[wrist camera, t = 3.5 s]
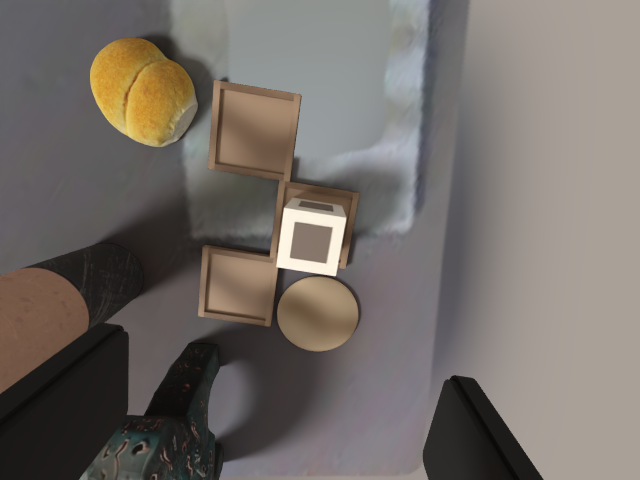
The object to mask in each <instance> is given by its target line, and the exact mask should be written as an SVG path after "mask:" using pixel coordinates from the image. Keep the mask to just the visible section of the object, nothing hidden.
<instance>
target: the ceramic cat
mask: <svg viewBox="0 0 640 480" xmlns="http://www.w3.org/2000/svg"><path fill="white" fill-rule="evenodd" d="M219 369H220V364H219V361H218V345H214V344H192V343H189V344H188V345H187V347H186V348H185V349H184V351H183V352H182V354H181V355H180V356H179V357H178V359H177V360H176V361H175V362H174V363H173V364H172V365H171V366H170V368H169V370H168V372H167V374H166V376H165V378H164V380H163V381H162V382H161V384H160V385H159V387H158V389H157V390H156V392H155V393H154V396H153V398H152V400H151V402H150V404H149V406H148V408H147V410H146V412H145V414H144V416H137V415H126V417H125V419H124V421H123V422H122V424H121V425H120V427H119V428H118V429H117V430H116V432H115V433H114V434H113V436H112V437H111V438H110V440H109V441H108V442H107V443H106V445H105V446H104V447H103V449H102V450H101V451H100V453H99V454H98V455H97V457H96V458H95V459H94V460H93V462H92V463H91V464H90V466H89V467H88V468H87V470H86V471H85V472H84V474H83V475H82V476H81V478H80V480H219V477H220V473H221V471H222V466H223V456H224V452H223V447H222V445H220V444H218V445H215V435H214V434H213V433H212V432H211V431H210V430H209V429H208V402H209V396H210V390H211V387H212V384H213V381H214V379H215V377H216V375H217V373H218V371H219Z"/></svg>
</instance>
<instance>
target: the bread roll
mask: <svg viewBox="0 0 640 480" xmlns="http://www.w3.org/2000/svg"><path fill="white" fill-rule="evenodd" d="M90 81H91V87H92V92H93V94H94V97H95V99H96V102H97V104H98V106H99V108H100V109H101V111H102V113H103V114H104V116H105V117H106V119H107V120H108V121H109V122H110V123H111V124H112V125H113V126H114V127H115V128H117V129H118V130H119V131H121V132H122V133H123V134H125V135H127V136H129V137H130V138H132V139H134V140H136V141H137V142H140V143H143V144H146V145H150V146H156V147H164V146H166V145H169V144H171V143H173V142H176V141H177V140H179V138H180V137H181V136H182V135H183V133H184V132H185V131H186V130H187V128H188V127H189V125H190V123H191V122H192V120H193V118H194V116H195V114H196V111H197V108H198V103H197V99H196V95H195V89H194V86H193V83H192V80H191V79H190V77H189V76H188V74H187V73H186V71H185V70H184V69H183V68H182V67H181V66H180V65H179V64H177V63H176V62H174V61H171V60H169V59H167V58H166V57H165V56H164V55H163V53H162V52H161V51H160V50H159V49H158V48H157V47H156V46H155V45H154V44H152V43H151V42H149V41H147V40H144V39H140V38H124V39H119V40H116V41H114V42H112V43H110V44H109V45H107V46H106V47H104V48H103V49H102V50H101V51H100V52H99V54H98V55H97V56H96V58H95V60H94V62H93V65H92V68H91V71H90Z"/></svg>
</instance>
